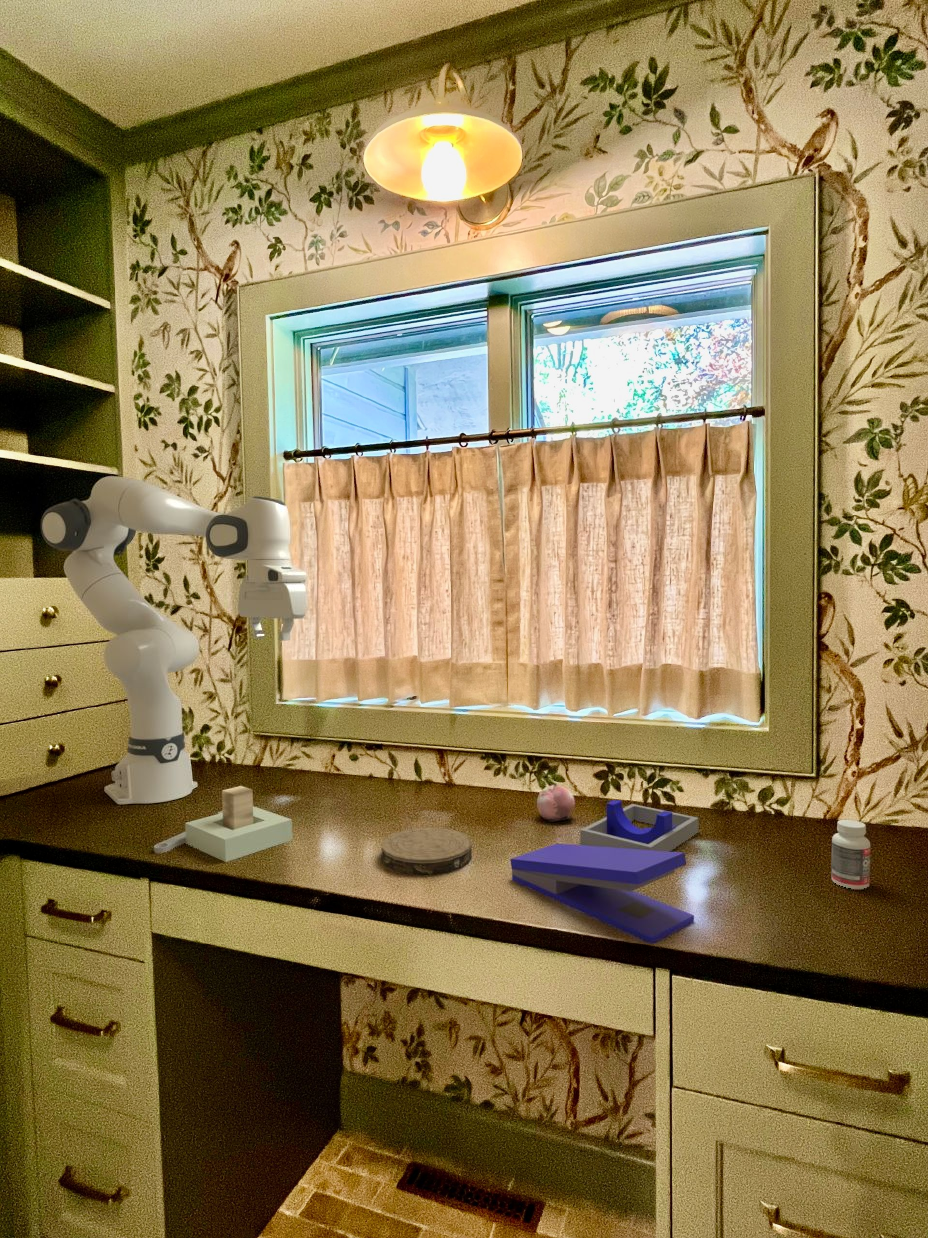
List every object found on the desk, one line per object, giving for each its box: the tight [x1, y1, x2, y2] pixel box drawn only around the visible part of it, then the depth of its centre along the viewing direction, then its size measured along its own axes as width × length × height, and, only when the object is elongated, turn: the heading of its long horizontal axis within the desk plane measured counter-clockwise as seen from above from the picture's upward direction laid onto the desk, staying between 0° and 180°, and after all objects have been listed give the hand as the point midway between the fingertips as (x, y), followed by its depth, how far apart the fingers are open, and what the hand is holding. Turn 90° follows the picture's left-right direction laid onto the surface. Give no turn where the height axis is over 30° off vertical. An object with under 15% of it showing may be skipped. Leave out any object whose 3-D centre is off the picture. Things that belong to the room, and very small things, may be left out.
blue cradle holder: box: [606, 799, 676, 844], centre depth 135 cm, size 12×4×6 cm, turn 47°
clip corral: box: [579, 803, 699, 852], centre depth 135 cm, size 14×20×3 cm
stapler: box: [509, 843, 695, 945], centre depth 110 cm, size 12×28×10 cm, turn 39°
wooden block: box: [221, 785, 254, 830], centre depth 136 cm, size 4×4×10 cm
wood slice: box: [381, 827, 473, 877], centre depth 128 cm, size 16×16×3 cm
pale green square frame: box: [184, 805, 293, 863], centre depth 136 cm, size 14×14×4 cm
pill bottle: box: [831, 819, 871, 890], centre depth 115 cm, size 5×5×10 cm
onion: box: [536, 784, 576, 823], centre depth 148 cm, size 8×8×7 cm
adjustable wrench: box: [153, 810, 223, 854], centre depth 143 cm, size 25×6×2 cm, turn 153°
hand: (271, 639), depth 152 cm, fingers open, 8 cm apart
